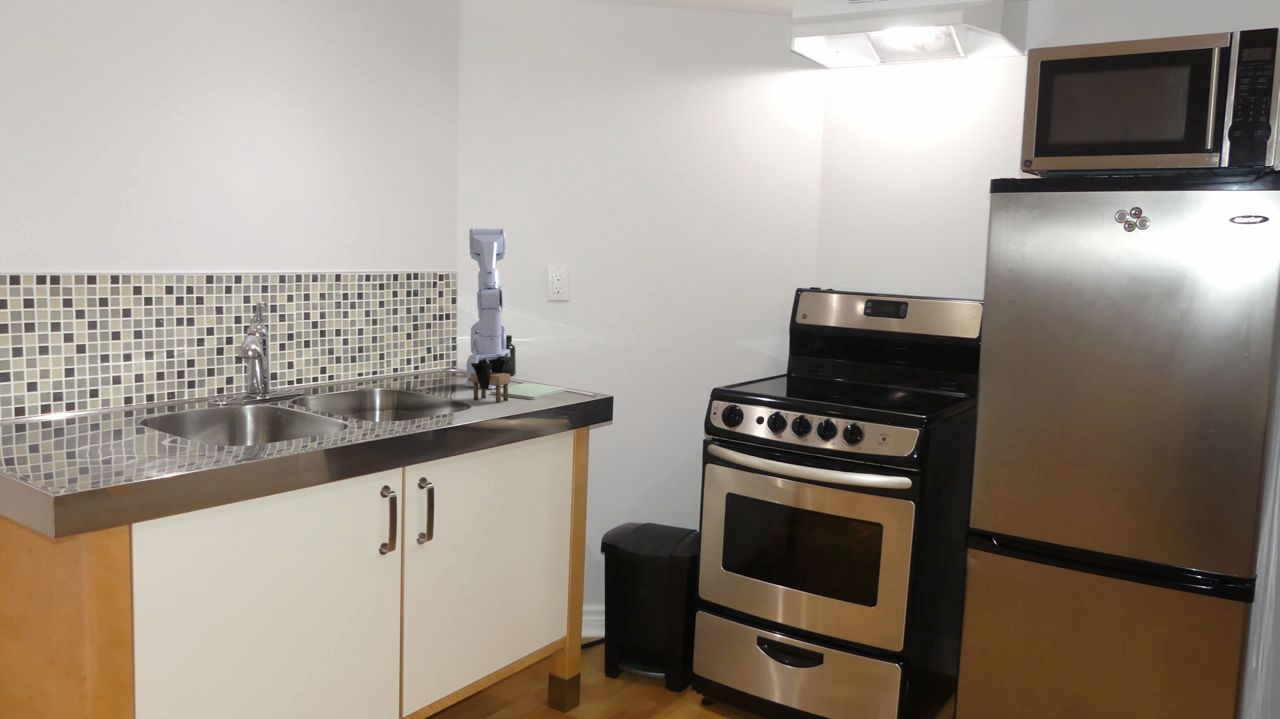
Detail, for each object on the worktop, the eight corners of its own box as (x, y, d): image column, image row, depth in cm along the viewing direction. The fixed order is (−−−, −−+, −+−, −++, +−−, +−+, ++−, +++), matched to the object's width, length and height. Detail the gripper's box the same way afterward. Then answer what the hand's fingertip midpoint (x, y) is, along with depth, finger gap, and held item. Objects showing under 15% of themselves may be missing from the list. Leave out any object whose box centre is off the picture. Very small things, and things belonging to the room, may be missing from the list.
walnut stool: (471, 399, 252) (471, 373, 251) (482, 396, 256) (482, 370, 255) (499, 403, 248) (498, 376, 247) (510, 400, 252) (510, 374, 251)
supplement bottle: (517, 373, 294) (517, 334, 293) (512, 377, 288) (512, 337, 286) (495, 372, 295) (495, 333, 293) (490, 376, 288) (489, 336, 287)
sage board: (490, 394, 260) (490, 391, 260) (525, 385, 274) (525, 382, 274) (533, 399, 253) (533, 396, 253) (566, 390, 267) (566, 387, 267)
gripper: (485, 339, 241) (485, 393, 243) (519, 333, 254) (519, 384, 256) (462, 337, 245) (463, 390, 247) (497, 331, 257) (498, 382, 259)
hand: (490, 387), depth 251 cm, fingers closed on walnut stool, 5 cm apart
